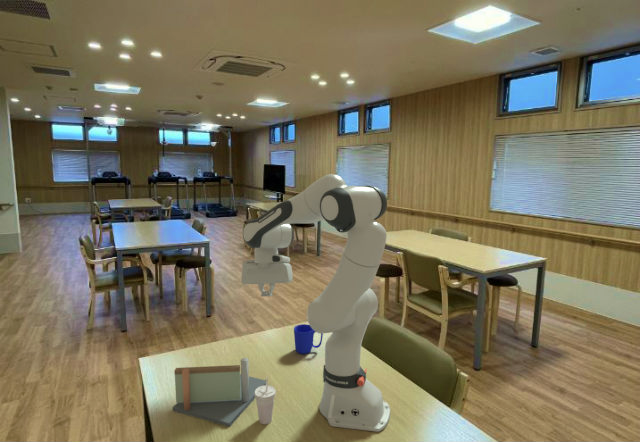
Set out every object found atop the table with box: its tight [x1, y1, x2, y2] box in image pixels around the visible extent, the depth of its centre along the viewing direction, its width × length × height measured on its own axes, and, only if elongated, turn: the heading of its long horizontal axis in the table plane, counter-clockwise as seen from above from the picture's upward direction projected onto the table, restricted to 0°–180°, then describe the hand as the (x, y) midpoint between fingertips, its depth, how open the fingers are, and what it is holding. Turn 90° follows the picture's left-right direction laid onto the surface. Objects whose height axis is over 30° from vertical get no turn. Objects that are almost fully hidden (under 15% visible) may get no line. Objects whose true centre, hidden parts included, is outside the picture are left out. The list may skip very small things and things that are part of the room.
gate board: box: [172, 357, 266, 428], centre depth 127 cm, size 21×24×15 cm
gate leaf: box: [174, 364, 241, 404], centre depth 123 cm, size 20×2×11 cm, turn 96°
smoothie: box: [254, 377, 277, 425], centre depth 116 cm, size 6×6×14 cm
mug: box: [293, 323, 324, 355], centre depth 159 cm, size 8×12×10 cm
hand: (266, 296), depth 142 cm, fingers closed
